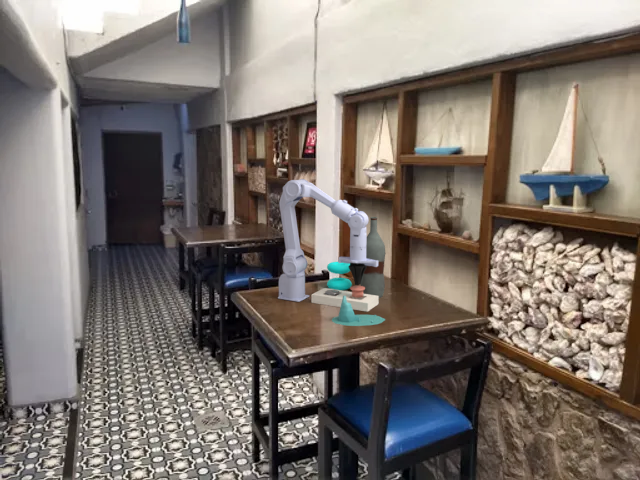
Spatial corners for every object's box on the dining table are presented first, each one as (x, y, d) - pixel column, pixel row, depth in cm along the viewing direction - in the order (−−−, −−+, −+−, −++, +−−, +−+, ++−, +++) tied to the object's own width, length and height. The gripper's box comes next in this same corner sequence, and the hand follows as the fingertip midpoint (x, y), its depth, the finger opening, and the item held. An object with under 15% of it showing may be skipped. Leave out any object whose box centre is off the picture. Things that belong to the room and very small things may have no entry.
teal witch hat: (393, 326, 151) (394, 300, 150) (330, 328, 150) (330, 301, 148) (385, 314, 163) (386, 289, 162) (326, 315, 161) (326, 291, 160)
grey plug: (322, 300, 175) (322, 292, 175) (329, 297, 180) (329, 289, 179) (335, 302, 173) (335, 294, 172) (341, 299, 177) (342, 290, 177)
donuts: (353, 261, 197) (349, 266, 187) (353, 285, 198) (349, 291, 189) (329, 260, 199) (324, 265, 189) (329, 283, 201) (324, 290, 191)
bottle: (380, 300, 178) (382, 219, 173) (357, 297, 181) (358, 218, 176) (387, 293, 186) (389, 216, 181) (364, 291, 190) (366, 215, 185)
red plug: (347, 296, 170) (347, 288, 169) (353, 293, 174) (354, 284, 174) (361, 298, 168) (361, 290, 167) (367, 295, 172) (367, 286, 171)
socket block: (311, 302, 175) (311, 294, 174) (324, 295, 183) (324, 288, 183) (367, 311, 164) (367, 303, 164) (378, 303, 173) (378, 295, 173)
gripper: (334, 246, 168) (334, 284, 170) (373, 250, 161) (372, 289, 163) (343, 243, 174) (343, 280, 176) (380, 246, 167) (380, 284, 169)
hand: (357, 284), depth 170 cm, fingers closed
